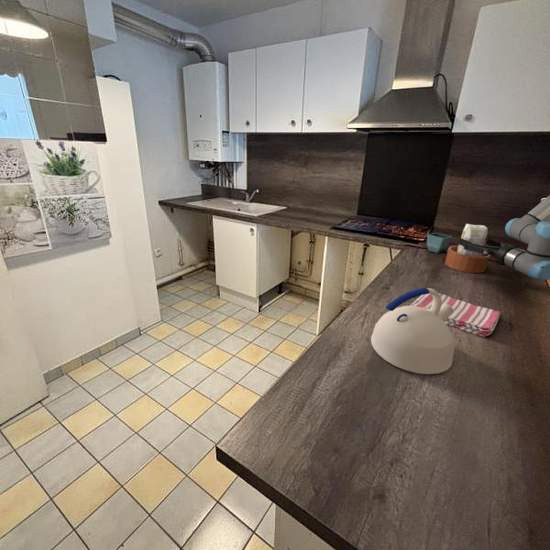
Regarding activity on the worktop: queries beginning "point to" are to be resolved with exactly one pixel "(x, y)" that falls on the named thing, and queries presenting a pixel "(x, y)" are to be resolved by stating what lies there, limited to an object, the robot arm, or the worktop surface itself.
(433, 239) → the flower pot
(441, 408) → the worktop surface
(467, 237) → the juice carton
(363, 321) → the worktop surface
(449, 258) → the pot
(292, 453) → the worktop surface
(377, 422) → the worktop surface
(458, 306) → the dish towel
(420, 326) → the kettle
